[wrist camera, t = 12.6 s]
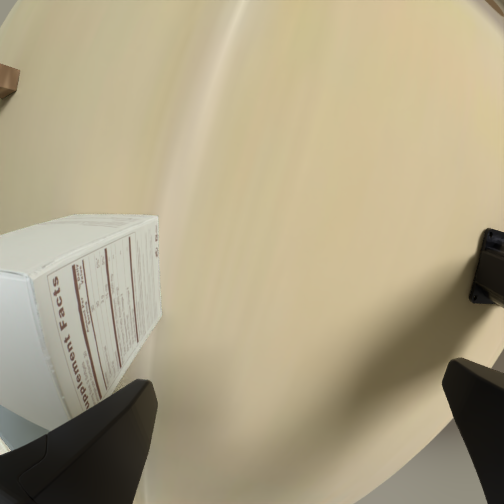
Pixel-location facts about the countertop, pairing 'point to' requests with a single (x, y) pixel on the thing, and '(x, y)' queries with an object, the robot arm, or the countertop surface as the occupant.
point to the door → (18, 429)
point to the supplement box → (74, 311)
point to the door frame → (8, 80)
